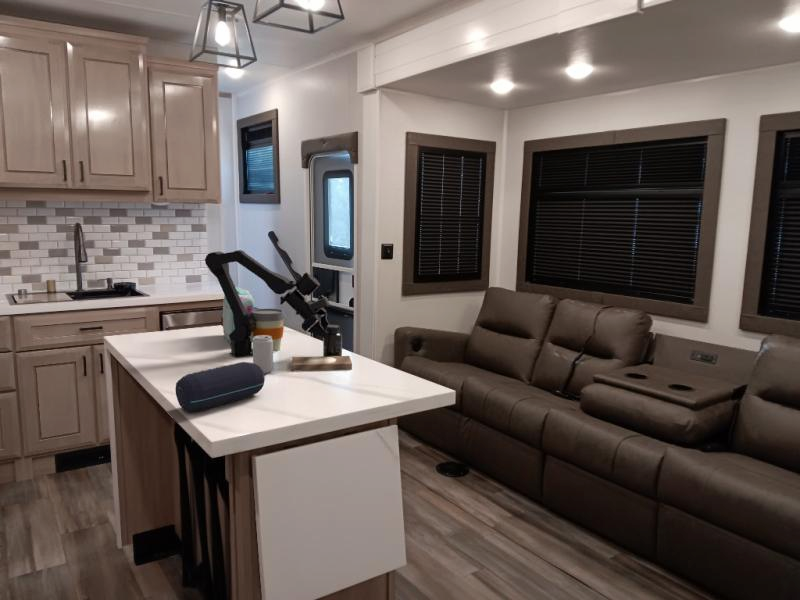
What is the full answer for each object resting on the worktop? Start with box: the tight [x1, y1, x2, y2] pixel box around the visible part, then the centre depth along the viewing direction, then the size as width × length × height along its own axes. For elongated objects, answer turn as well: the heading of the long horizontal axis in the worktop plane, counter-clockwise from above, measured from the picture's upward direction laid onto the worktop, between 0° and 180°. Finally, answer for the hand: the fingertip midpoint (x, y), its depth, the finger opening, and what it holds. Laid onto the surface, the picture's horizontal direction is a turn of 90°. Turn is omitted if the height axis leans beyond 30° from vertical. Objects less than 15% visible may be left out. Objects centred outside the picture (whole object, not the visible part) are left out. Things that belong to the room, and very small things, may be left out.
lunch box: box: [220, 286, 255, 344], centre depth 238 cm, size 27×10×21 cm, turn 25°
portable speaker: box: [174, 361, 266, 413], centre depth 160 cm, size 25×10×10 cm, turn 142°
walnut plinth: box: [291, 355, 353, 371], centre depth 201 cm, size 20×11×2 cm, turn 99°
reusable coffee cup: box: [252, 308, 286, 352], centre depth 222 cm, size 13×13×15 cm
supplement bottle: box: [322, 324, 343, 356], centre depth 211 cm, size 7×7×12 cm
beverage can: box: [252, 335, 274, 375], centre depth 191 cm, size 6×6×12 cm
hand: (330, 335), depth 211 cm, fingers open, 9 cm apart
